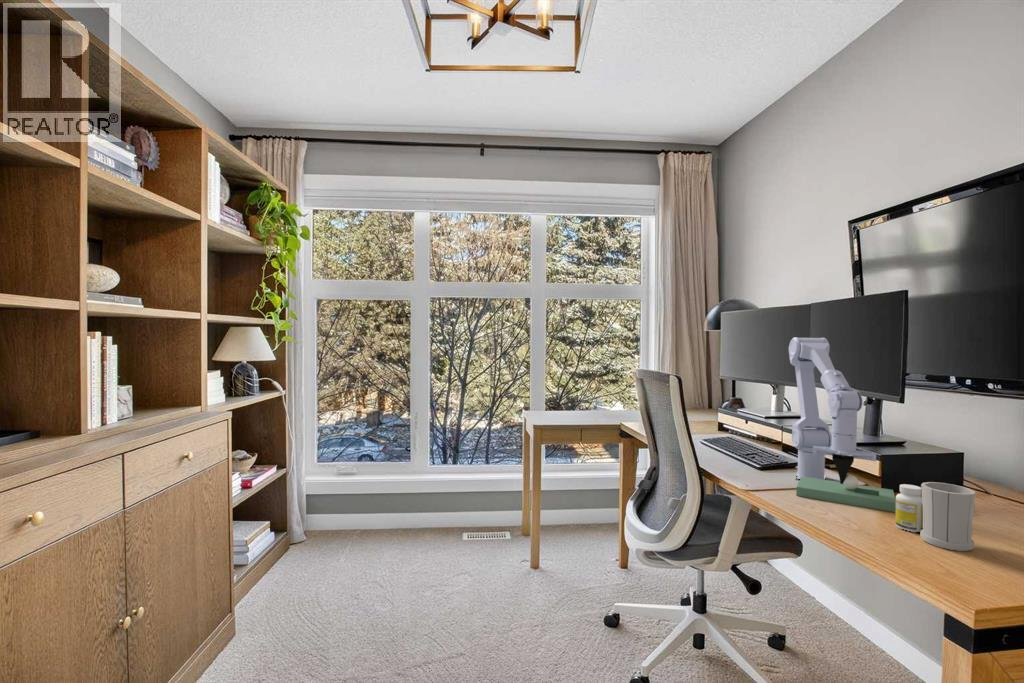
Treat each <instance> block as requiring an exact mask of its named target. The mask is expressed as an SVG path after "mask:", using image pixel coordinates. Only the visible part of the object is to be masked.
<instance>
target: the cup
mask: <svg viewBox="0 0 1024 683" xmlns="http://www.w3.org/2000/svg"><path fill="white" fill-rule="evenodd" d="M920 487H921V489H922V493H921V497H922V501H923V529H922V530H921V531H920V535H919V536H920V538H921V540H923V541H924V542H925V541H926V542H925V543H927V544H929V545H931V544H932V546H933V547H937V548H940V547H941V548H940V549H944V548H945V550H948V549H949V551H954V550H956V551H955V552H969V550H970V551H972V550H974V549H975V541H974V540H973V538H972V536H973V518H974V517H975V510H976V509H975V507H976V503H975V502H976V495H977V494H976V491H975V490H974V489H971V488H968V487H965V486H961V485H956V484H951V483H946V482H935V481H927V482H922V483H921V484H920Z"/></svg>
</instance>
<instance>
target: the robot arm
mask: <svg viewBox="0 0 1024 683" xmlns="http://www.w3.org/2000/svg"><path fill="white" fill-rule="evenodd" d="M788 354H789V356H788V357H789V362H790V365H792V366H793V367H794V369H795V378H796V386H797V395H798V403H799V413H800V419H798V420H797V421H795V422H794V423H793V424H792V426H791V429H792V430H791V431H792V432H791V442H792V444H793V446H794V447H795V449H797V472H796V475H798V476H799V477H801V476H803V477H810V478H816V479H823V480H825V479H824V475H826V474H825V467H826V464H825V463H826V456H832V458H831V459H832V462H833V463H834V466H835V468H836V471H837V473H838V477H839V482H840V484H843V482H844V481H845V479H846V475H848V472H849V470H850V468H851V467H852V465H853V463H854V461H855V460H854V459H858V460H867V461H872V462H877V452H870V451H864V450H859V449H857V439H858V438H857V434H858V433H857V432H858V430H857V429H858V428H857V427H858V412H859V411H860V410H862V407H863V397H862V395H861V392H860V391H859V390H857V389H854V388H853V387H851V386H850V385H849V382H848V381H847V380H846V378H845V376H844V374H843V372H841V371H840V370H837V369H835V367H834V365H833V361H832V360H831V357H830V343H829V340H828V339H827V338H826V337H797V336H796V337H795V336H794V337H792V339H790V342H789V346H788ZM815 367H816V368H817V369H818V371H819V373H820V374H821V376H820V382H821V384H822V386H823V388H824V389H825V391H826V393H827V395H828V398H827V404H828V407H829V414H830V415H829V416H831V431H830V426H829V424H828V423H827V422H825V421H824V420H823V419H821V418H820V414H819V412H820V411H819V404H818V397H817V396H818V395H817V389H816V388H817V387H816V381H815V373H814V369H815ZM796 475H795V476H796Z"/></svg>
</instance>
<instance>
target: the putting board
mask: <svg viewBox="0 0 1024 683" xmlns="http://www.w3.org/2000/svg"><path fill="white" fill-rule="evenodd" d="M795 490H796V493H795V494H796V496H797V497H802V498H807V499H808V498H809V499H814V500H820V501H825V502H826V501H827V502H832V503H839V504H843V505H844V504H845V505H852V506H855V507H861V508H869V509H874V510H879V509H880V511H888V512H891V511H893V512H892V513H896V495H895V493H894V489H889V488H882V487H875V486H868V485H862V484H859V485H858V487H857V488H856V489H854V490H848V489H846V488H844V487H843V485H842V484H840V481H835V480H829V479H826V480H823V479H816V478H810V477H803V476H801V477H800V480H799V479H798V482H797V485H796V489H795Z"/></svg>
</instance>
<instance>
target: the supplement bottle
mask: <svg viewBox="0 0 1024 683" xmlns="http://www.w3.org/2000/svg"><path fill="white" fill-rule="evenodd" d="M899 492H900V493H898V494H896V495H895V500H896V512H895V526H896V528H898V529H899V530H902V529H904V530H903V531H905V530H907V531H906V532H909V531H911V532H910V533H916V532H920V531H921V530H922V529H923V501H922V487H921V486H918V485H914V484H906V483H903V484H902V483H901V484H899Z"/></svg>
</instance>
